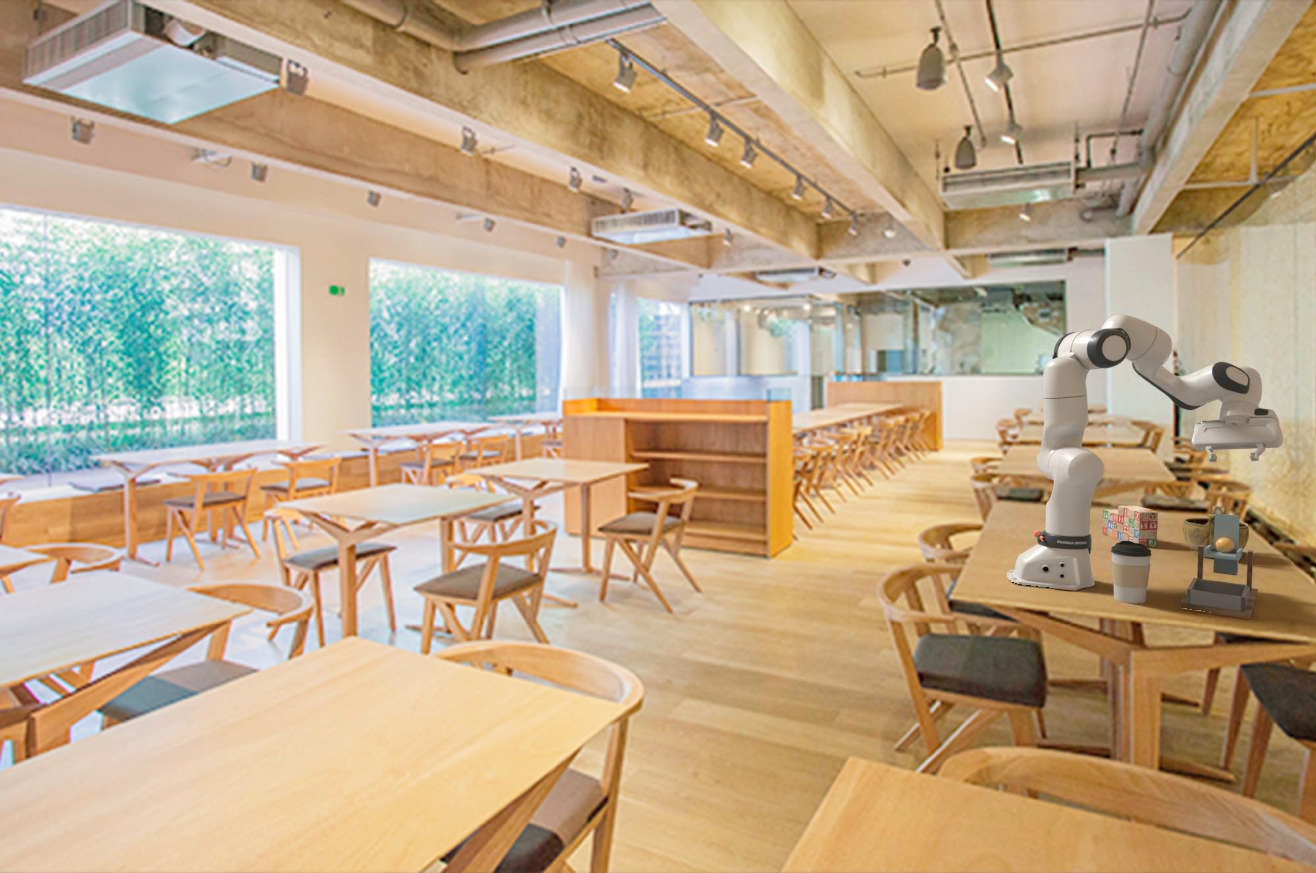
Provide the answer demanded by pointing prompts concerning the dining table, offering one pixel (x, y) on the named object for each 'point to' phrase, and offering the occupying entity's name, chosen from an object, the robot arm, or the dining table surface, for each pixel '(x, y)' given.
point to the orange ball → (1224, 545)
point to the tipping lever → (1228, 529)
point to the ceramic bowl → (1209, 530)
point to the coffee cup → (1130, 571)
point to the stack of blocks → (1132, 524)
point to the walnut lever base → (1225, 612)
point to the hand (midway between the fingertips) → (1233, 460)
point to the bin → (1218, 594)
